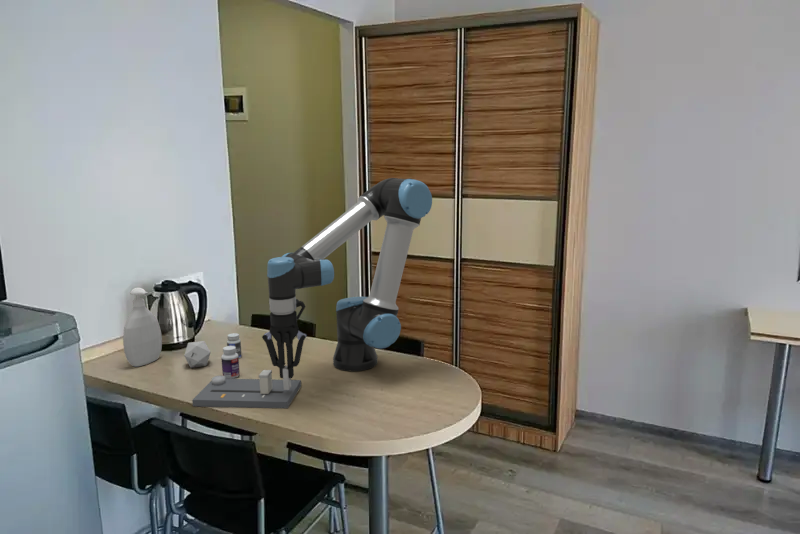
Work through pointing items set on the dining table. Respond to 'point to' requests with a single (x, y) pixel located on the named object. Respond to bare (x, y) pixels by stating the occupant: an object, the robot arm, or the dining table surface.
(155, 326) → the soap bottle
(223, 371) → the pill bottle
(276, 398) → the console
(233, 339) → the pill bottle
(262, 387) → the fader knob
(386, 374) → the dining table surface
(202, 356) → the die
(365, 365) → the robot arm
